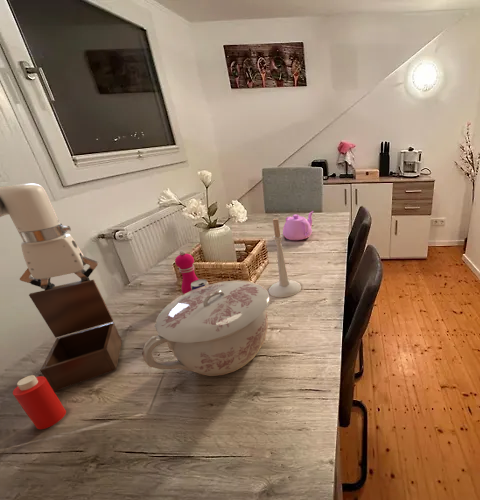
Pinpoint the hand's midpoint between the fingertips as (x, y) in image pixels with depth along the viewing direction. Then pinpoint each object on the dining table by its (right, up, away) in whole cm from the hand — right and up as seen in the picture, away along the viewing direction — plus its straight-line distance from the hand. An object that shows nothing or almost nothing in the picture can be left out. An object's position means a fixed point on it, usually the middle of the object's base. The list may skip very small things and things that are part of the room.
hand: (72, 294), depth 78 cm
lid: (+2, -4, -1) cm, 5 cm away
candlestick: (+51, -4, +35) cm, 62 cm away
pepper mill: (+17, -6, +31) cm, 36 cm away
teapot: (+48, +21, +92) cm, 106 cm away
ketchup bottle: (+10, -26, -15) cm, 32 cm away
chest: (+5, -20, 0) cm, 21 cm away
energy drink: (+26, -10, +22) cm, 36 cm away
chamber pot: (+42, -18, +2) cm, 46 cm away
